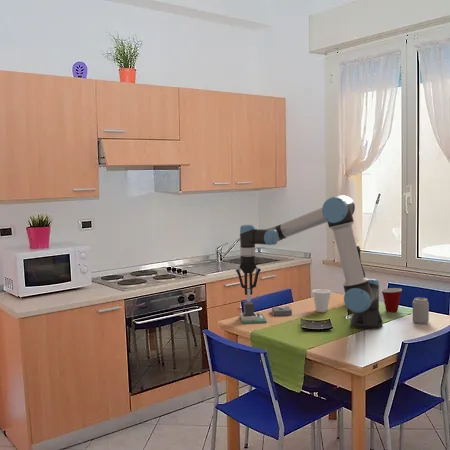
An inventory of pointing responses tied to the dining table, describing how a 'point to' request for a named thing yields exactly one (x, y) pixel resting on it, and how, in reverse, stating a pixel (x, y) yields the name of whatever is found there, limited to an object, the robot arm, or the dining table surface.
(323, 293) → the cup
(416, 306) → the can
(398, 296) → the plastic cup
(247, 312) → the plug
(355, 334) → the dining table surface
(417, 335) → the dining table surface
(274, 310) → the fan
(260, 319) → the board
